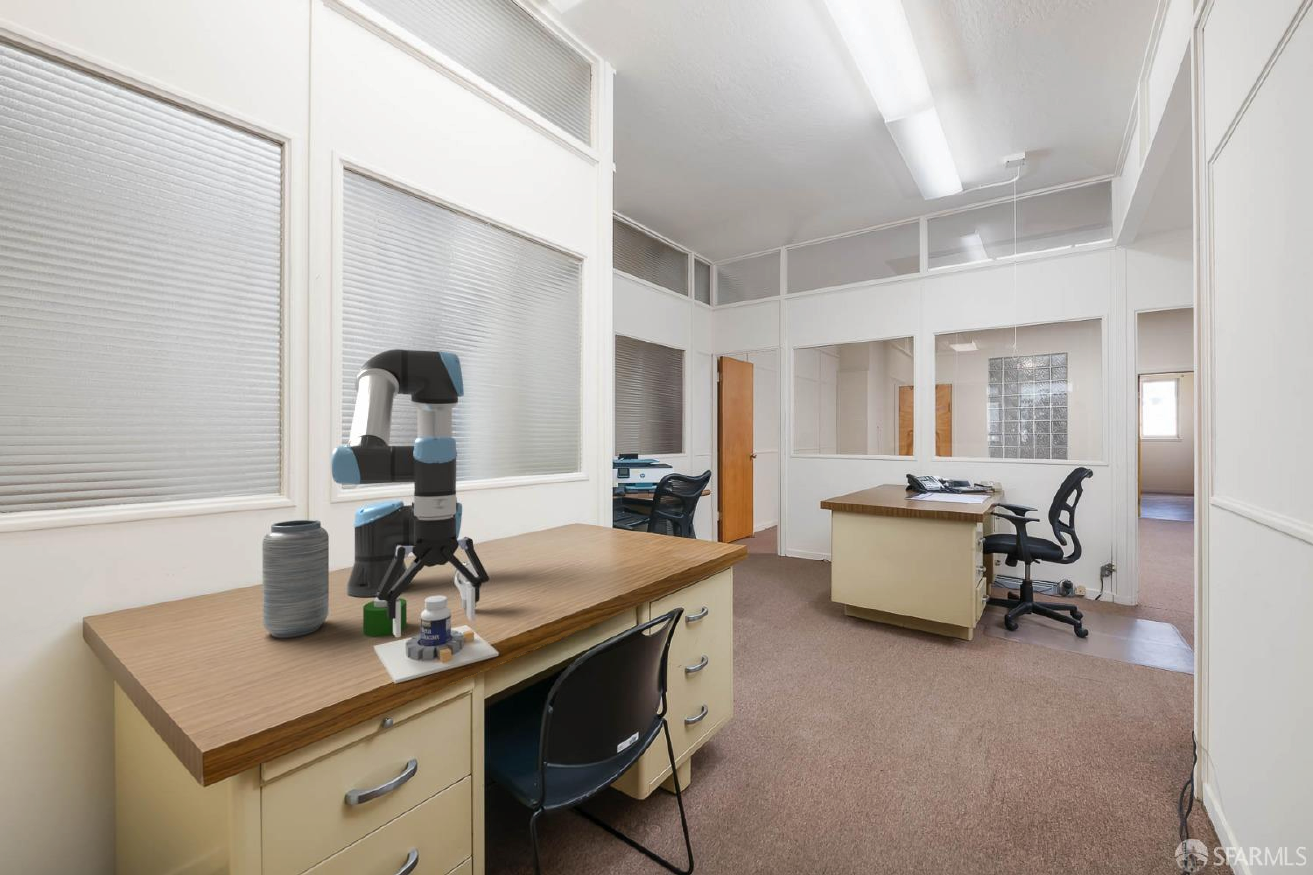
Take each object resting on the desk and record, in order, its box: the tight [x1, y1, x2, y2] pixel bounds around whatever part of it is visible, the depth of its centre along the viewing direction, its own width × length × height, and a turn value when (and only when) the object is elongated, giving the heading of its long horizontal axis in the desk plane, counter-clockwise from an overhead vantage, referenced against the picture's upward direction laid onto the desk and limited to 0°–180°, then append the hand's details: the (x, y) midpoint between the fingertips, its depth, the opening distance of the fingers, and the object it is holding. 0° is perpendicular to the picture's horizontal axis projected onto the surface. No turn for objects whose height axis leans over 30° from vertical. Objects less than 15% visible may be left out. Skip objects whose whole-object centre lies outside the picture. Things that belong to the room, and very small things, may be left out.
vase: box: [261, 519, 330, 639], centre depth 111 cm, size 12×12×23 cm
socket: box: [373, 624, 500, 684], centre depth 100 cm, size 18×18×2 cm
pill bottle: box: [420, 595, 452, 647], centre depth 101 cm, size 5×5×10 cm
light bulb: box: [453, 560, 478, 612], centre depth 123 cm, size 7×7×12 cm
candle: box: [362, 597, 408, 638], centre depth 112 cm, size 8×8×10 cm
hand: (435, 626), depth 100 cm, fingers open, 13 cm apart
